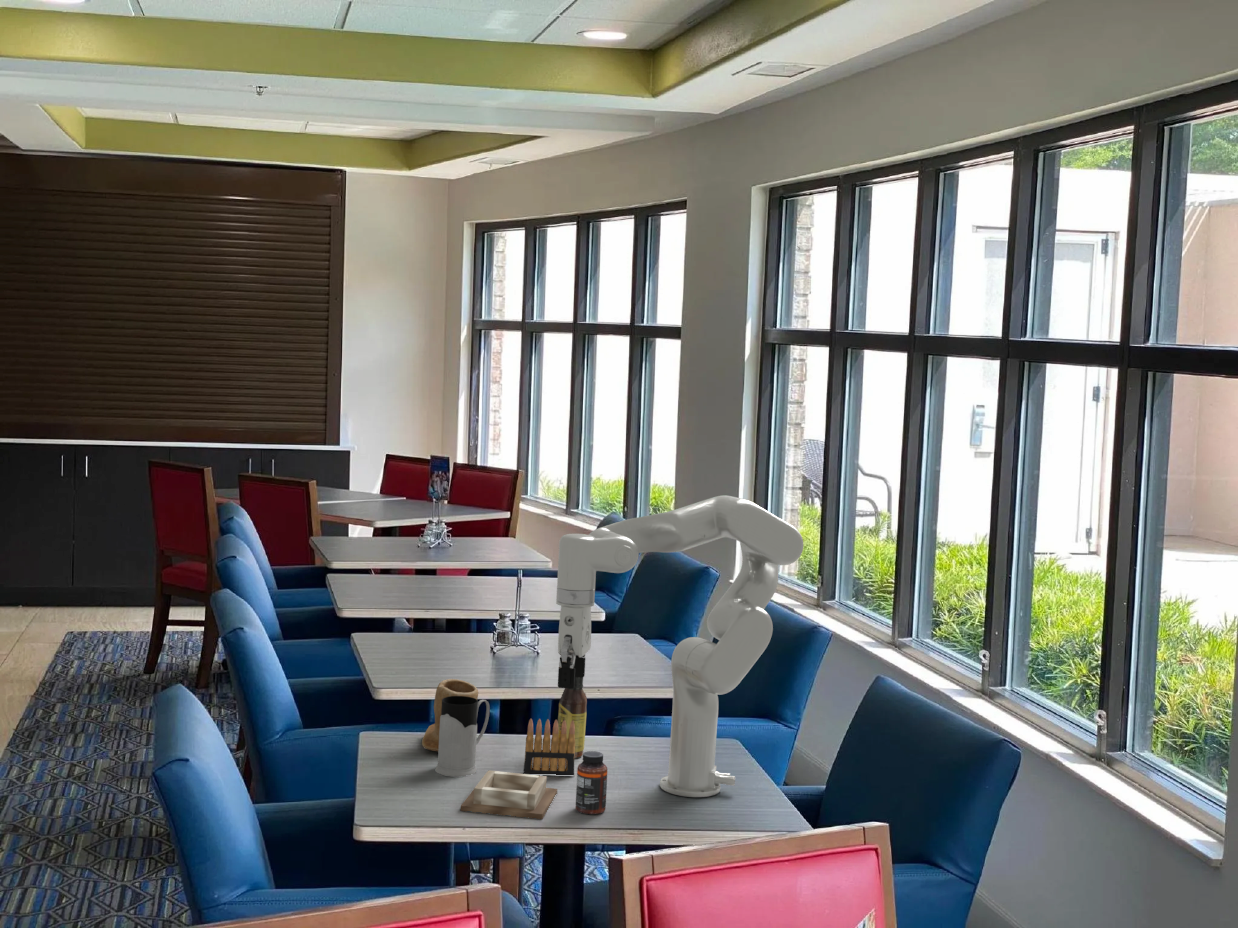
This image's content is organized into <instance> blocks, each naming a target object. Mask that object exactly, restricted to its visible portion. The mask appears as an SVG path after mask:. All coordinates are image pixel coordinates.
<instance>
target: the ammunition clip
mask: <svg viewBox="0 0 1238 928" xmlns="http://www.w3.org/2000/svg"><path fill="white" fill-rule="evenodd" d="M536 723H537V724H536V727H535V735H534V722H533V719H532V718H530V719H529V720H528V725H527V732H526V738H525V749H524V762H523V771H524V774H556V775H574V776H575V758H574V756H575V725H574V721H573V720H572V722H571V724H570V729H569V737H568V743H567V727H566V721H565V720H564V721H563V723H562V727H561V735H560V740H559V738H558V719H555V720H554V723H553V725H552V726H553V727H552V735H551V724H550V723H551V722H550V720H549V718H547V719H546V721H545V725H544V731H543V733H542V730H543V727H542V726H543V725H542V720H541V718H538V720H537V722H536ZM542 734H543V735H542ZM542 736H543V737H542ZM558 747H559V751H558Z"/></svg>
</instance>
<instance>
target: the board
mask: <svg viewBox="0 0 1238 928" xmlns="http://www.w3.org/2000/svg"><path fill="white" fill-rule="evenodd" d="M547 780H548V776H540V775H530V774H523V773H518V772H509V771H498V770H487V772H485V774H484V775H483V777H482V778H481V779H480V781H478V783H477V784H476V785H475V787H474V788H473V789H472V790H471V792H470V793H469V795H468V796H467V797H466V798H465V799H464V801H463V802H462V803H461V805H460V812H467V811H472V812H471V813H476V812H482V813H481V814H486V813H490V815H496V814H498V816H505V815H511V816H510V817H515V816H516V817H517V818H524V817H526V819H534V818H536V819H537V820H543V819H544V818H545V816H546V815H547V813H548V811H547V810H549V809H550V807H551V805H552V804H553V802H554V800H555V798H556V797H555V795H556V794H557V795H558V788H554V787H553V788H552V787H547ZM557 795H556V796H557ZM554 797H555V798H554ZM553 799H554V800H553ZM552 801H553V802H552ZM551 803H552V804H551ZM550 804H551V805H550ZM549 806H550V807H549ZM548 808H549V809H548ZM528 817H529V818H528Z"/></svg>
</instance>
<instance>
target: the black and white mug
mask: <svg viewBox="0 0 1238 928" xmlns="http://www.w3.org/2000/svg"><path fill="white" fill-rule="evenodd" d="M483 702H484V703H485V706H486V711H485V717H484V723H483V726H482V728H481V731H480V733H479V735H478V723H477V721H478V712H479V707H480V706H481V704H482V703H483ZM490 710H491V709H490V703H489V701H487V700H486V699H480V700H479V701H478V699H475V698H472V697H466V696H450V697H445V698H443V699H442V708H441V716H440V730H439V749H438V751H437V753H438V754H437V764H436V767H435V772H436V773H437V774H439V775H440V776H441V775H442V776H446V777H453V778H454V777H457V778H459V777H461V776H463V777H467V776H466V775H470V776H472V775H471V774H473V775H475V774H476V773H477V772H478V769H477V766H476V758H477V757H476V756H477V745H478V744H479V742H480V741H481V739H482V737H483V735H484V734H485V731H486V729H487V725H488V722H489V717H490ZM477 735H478V736H477ZM475 772H476V773H475ZM474 773H475V774H474ZM461 778H462V777H461Z"/></svg>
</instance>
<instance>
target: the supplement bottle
mask: <svg viewBox="0 0 1238 928" xmlns="http://www.w3.org/2000/svg"><path fill="white" fill-rule="evenodd" d="M603 761H604V753H602V752H600V751H596V750H595V751H593V750H590V751H585V752H584V751H583V755H582V762H580V763H579V764H578V766H577V769H576V787H575V788H576V790H575V810H576V812H579V813H580V812H581V813H580V814H586V815H599V814H602V813H604V812H605V810H606V808H607V807H606V805H607V790H608V788H607V787H608V786H607V785H608V767H607V765H606V764H605V763H604V762H603Z"/></svg>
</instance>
